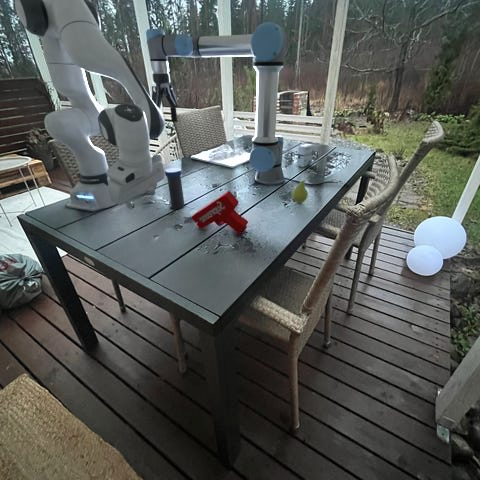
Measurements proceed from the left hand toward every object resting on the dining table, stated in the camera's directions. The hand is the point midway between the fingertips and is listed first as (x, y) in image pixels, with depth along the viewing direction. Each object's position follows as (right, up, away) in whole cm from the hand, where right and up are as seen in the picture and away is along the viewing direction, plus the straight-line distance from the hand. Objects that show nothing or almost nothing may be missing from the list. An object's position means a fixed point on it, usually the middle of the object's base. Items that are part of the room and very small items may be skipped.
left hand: (141, 200), depth 91 cm
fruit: (+60, +4, +31) cm, 67 cm away
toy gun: (+25, -9, +11) cm, 29 cm away
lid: (+6, +15, +20) cm, 25 cm away
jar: (+6, +2, +28) cm, 29 cm away
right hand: (-2, +44, +42) cm, 60 cm away
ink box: (+72, +33, +76) cm, 110 cm away
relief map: (+23, +42, +90) cm, 102 cm away
